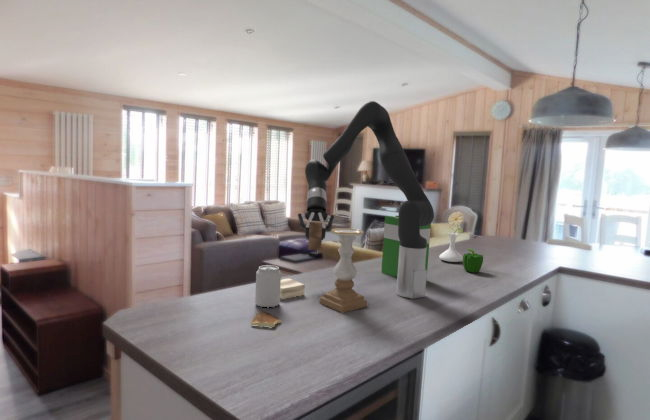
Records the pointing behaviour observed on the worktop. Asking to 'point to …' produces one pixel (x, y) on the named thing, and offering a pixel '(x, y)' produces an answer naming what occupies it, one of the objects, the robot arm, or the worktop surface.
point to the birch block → (291, 288)
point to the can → (268, 286)
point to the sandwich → (265, 319)
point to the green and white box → (397, 245)
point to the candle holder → (344, 275)
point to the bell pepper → (472, 261)
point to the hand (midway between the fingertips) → (315, 238)
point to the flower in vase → (453, 239)
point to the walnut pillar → (315, 235)
